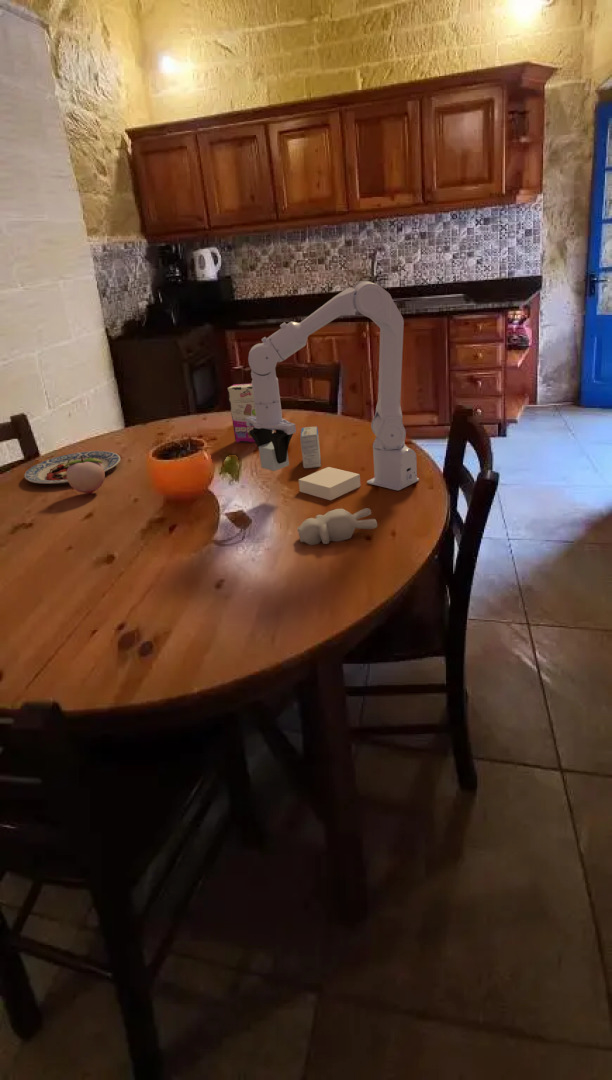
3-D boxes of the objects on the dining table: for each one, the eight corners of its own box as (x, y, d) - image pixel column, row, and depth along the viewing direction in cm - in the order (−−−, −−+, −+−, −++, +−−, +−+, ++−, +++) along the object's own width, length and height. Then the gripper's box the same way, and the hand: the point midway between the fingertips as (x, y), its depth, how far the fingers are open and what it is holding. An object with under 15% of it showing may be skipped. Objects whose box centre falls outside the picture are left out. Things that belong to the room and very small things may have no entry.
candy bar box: (275, 437, 195) (269, 382, 188) (270, 442, 191) (263, 386, 184) (241, 437, 199) (233, 383, 192) (234, 442, 194) (226, 387, 188)
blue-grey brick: (289, 465, 150) (286, 444, 148) (274, 471, 147) (271, 449, 145) (275, 461, 153) (273, 441, 151) (261, 467, 150) (258, 446, 148)
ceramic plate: (127, 476, 176) (125, 466, 175) (26, 497, 169) (23, 486, 167) (115, 452, 198) (113, 442, 197) (26, 470, 191) (23, 460, 189)
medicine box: (320, 467, 167) (317, 434, 164) (303, 469, 168) (300, 436, 164) (320, 457, 175) (317, 425, 171) (303, 459, 175) (300, 427, 171)
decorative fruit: (73, 503, 161) (62, 464, 156) (70, 493, 168) (60, 455, 163) (111, 495, 164) (102, 456, 159) (107, 485, 171) (99, 448, 166)
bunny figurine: (294, 514, 132) (366, 496, 132) (299, 537, 134) (371, 519, 134) (298, 533, 123) (376, 514, 123) (304, 557, 125) (381, 538, 125)
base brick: (360, 486, 153) (359, 474, 151) (330, 500, 147) (329, 487, 145) (329, 478, 159) (328, 466, 158) (299, 491, 153) (298, 479, 152)
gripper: (232, 401, 146) (240, 460, 152) (275, 409, 136) (283, 471, 142) (256, 394, 150) (263, 451, 156) (300, 401, 141) (306, 461, 146)
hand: (274, 460), depth 149 cm, fingers closed on blue-grey brick, 4 cm apart
